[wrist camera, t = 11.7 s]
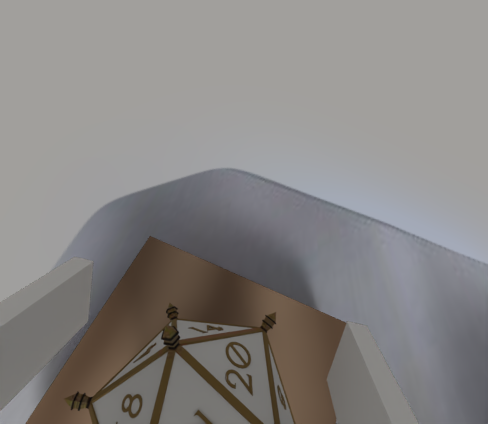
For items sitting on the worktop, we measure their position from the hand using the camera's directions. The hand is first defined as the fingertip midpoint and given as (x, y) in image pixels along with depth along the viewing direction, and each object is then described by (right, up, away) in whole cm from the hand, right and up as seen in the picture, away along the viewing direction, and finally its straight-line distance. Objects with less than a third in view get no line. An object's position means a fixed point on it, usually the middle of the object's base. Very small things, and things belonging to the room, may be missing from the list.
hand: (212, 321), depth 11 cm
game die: (-1, -6, +4) cm, 7 cm away
